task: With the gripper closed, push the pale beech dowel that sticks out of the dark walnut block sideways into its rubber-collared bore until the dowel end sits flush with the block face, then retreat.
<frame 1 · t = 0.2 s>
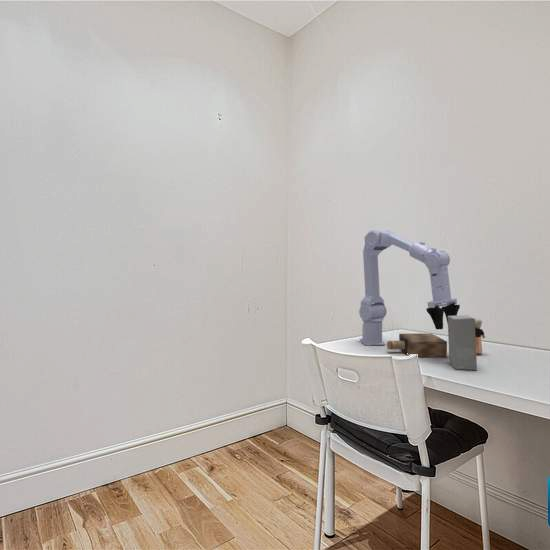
hand: (445, 327, 136), 11 cm above the table, tool pointing down, fingers open, 7 cm apart
skincare box: (461, 367, 128), on the table
grandmother figurine: (476, 354, 143), on the table
peg: (404, 345, 146), point 3 cm above the table, slide at 6.0 cm
block: (421, 352, 146), on the table
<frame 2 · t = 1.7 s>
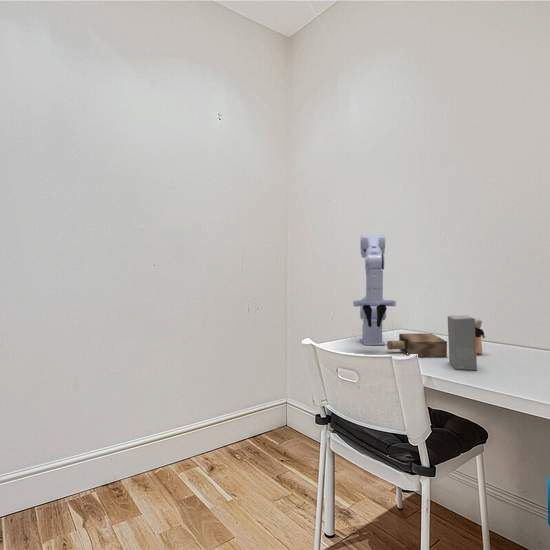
hand: (374, 326, 146), 9 cm above the table, tool pointing down, fingers closed
nothing on the table moved.
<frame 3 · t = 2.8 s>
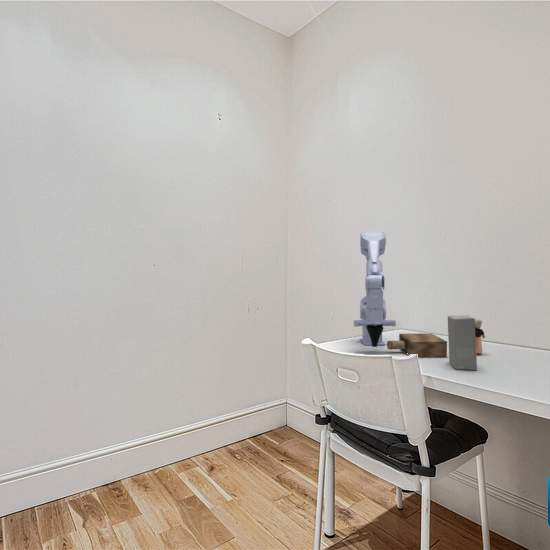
hand: (374, 346, 146), 2 cm above the table, tool pointing down, fingers closed
nothing on the table moved.
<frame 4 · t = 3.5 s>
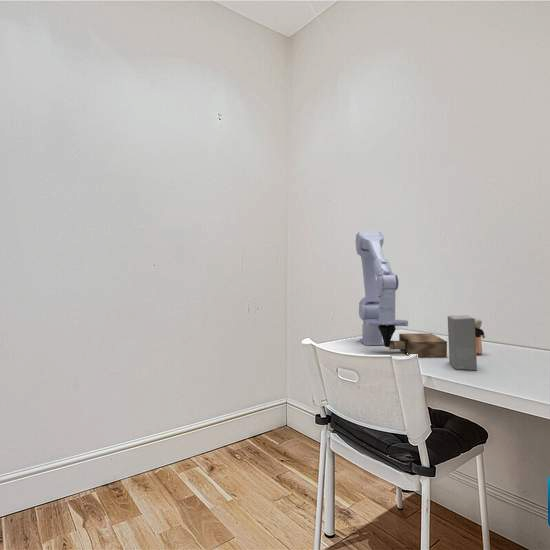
hand: (386, 346, 146), 2 cm above the table, tool pointing down, fingers closed
peg: (406, 345, 146), point 3 cm above the table, slide at 5.4 cm, touching gripper
everything else where it was.
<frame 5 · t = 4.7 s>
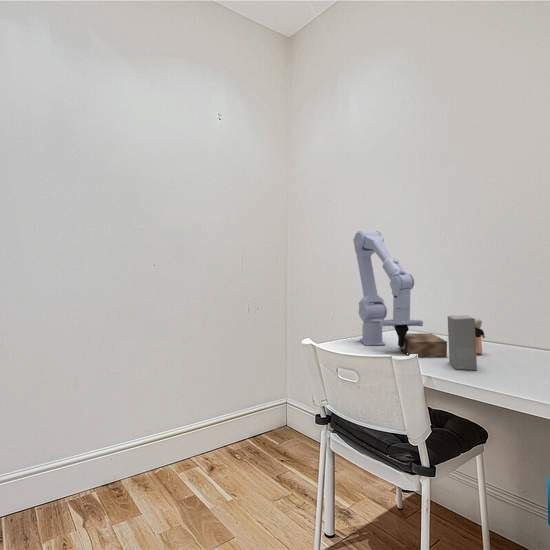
hand: (401, 346, 146), 2 cm above the table, tool pointing down, fingers closed, pressing on block, peg
peg: (419, 344, 146), point 3 cm above the table, slide at 0.8 cm, touching gripper
everything else where it was.
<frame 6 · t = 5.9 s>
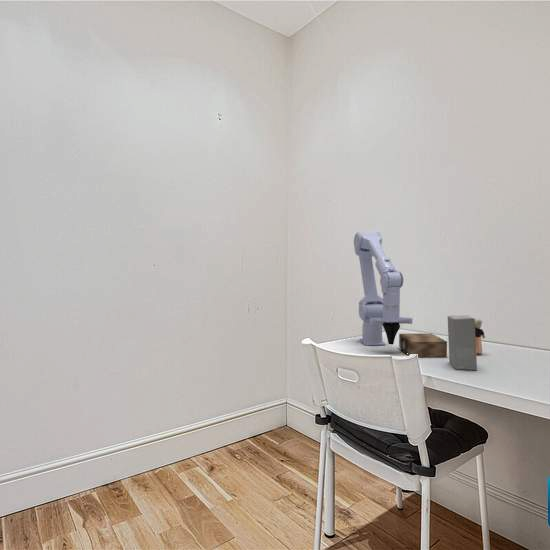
hand: (390, 343, 146), 3 cm above the table, tool pointing down, fingers closed
peg: (420, 344, 146), point 3 cm above the table, slide at 0.5 cm
everything else where it was.
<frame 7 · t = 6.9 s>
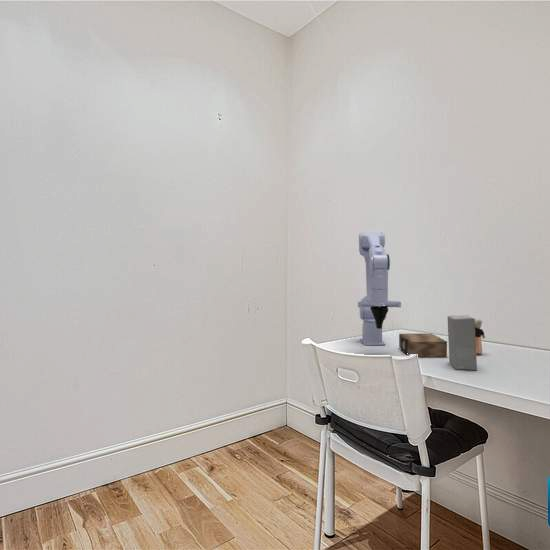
hand: (379, 328, 143), 9 cm above the table, tool pointing down, fingers closed
nothing on the table moved.
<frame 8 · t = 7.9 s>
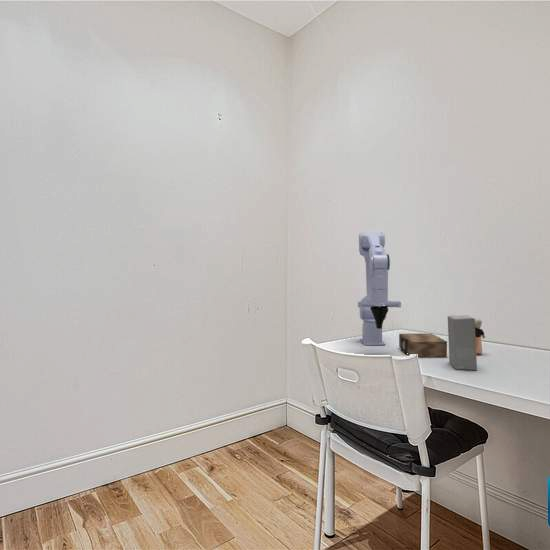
hand: (379, 328, 143), 9 cm above the table, tool pointing down, fingers closed
nothing on the table moved.
at the end: peg slide at 0.5 cm; peg touching nothing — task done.
